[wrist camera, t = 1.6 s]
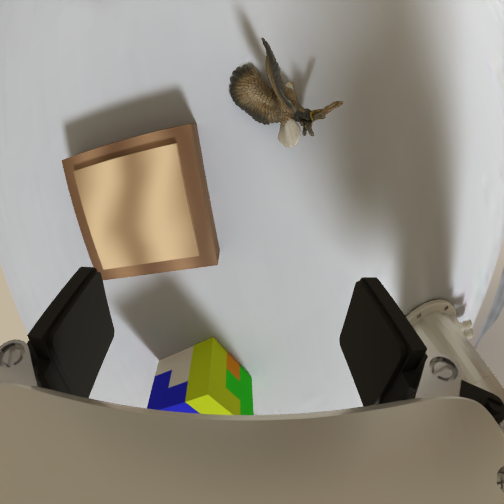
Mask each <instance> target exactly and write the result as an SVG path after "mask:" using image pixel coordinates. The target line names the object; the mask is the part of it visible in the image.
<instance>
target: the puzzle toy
mask: <svg viewBox="0 0 504 504" xmlns="http://www.w3.org/2000/svg"><path fill="white" fill-rule="evenodd" d="M147 409H154V410H163V411H173V412H183V413H197V414H215V415H253V397H252V378H251V376H250V375H249V374H248V373H247V372H246V371H245V370H244V369H243V368H242V367H241V366H240V365H239V364H238V363H237V361H236V360H235V359H234V358H233V357H232V356H231V355H230V354H229V353H228V352H227V351H226V350H225V349H224V348H223V347H222V346H221V345H220V343H219V342H218V341H217V340H216V339H215V338H214V337H211V338H209V339H207V340H205V341H203V342H200V343H198V344H196V345H194V346H191V347H189V348H187V349H185V350H182V351H180V352H178V353H175V354H173V355H171V356H168V357H166V358H164V359H161V360H159V363H158V367H157V371H156V375H155V378H154V382H153V386H152V390H151V394H150V398H149V402H148V406H147Z"/></svg>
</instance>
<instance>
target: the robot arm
mask: <svg viewBox="0 0 504 504" xmlns="http://www.w3.org/2000/svg"><path fill="white" fill-rule="evenodd" d="M471 326H472V322H471V320H466V321H463V322H462V323H461V322H459V321H458V319H457V314H456V310H455V308H454V307H453V306H452V304H451V303H450V302H448V301H446V300H442V299H438V300H432V301H429V302H427V303H424V304H422V305H421V306H419V307H417V308H416V309H415V310H413V311H412V312H411V313H410V314H408V315H407V316H406V317H405V315H404V314H403V312H402V311H401V309H400V308H399V307H398V305H397V304H396V303H395V301H394V300H393V298H392V297H391V296H390V294H389V293H388V292H387V290H386V289H385V288H384V286H383V285H382V284H381V282H380V281H379V280H378V279H377V278H361V280H360V281H358V282H356V284H355V288H354V291H353V295H352V298H351V302H350V305H349V309H348V312H347V315H346V319H345V322H344V325H343V328H342V332H341V335H340V346H341V349H342V351H343V354H344V356H345V359H346V361H347V364H348V366H349V369H350V372H351V374H352V377H353V379H354V382H355V385H356V387H357V390H358V393H359V395H360V398H361V401H362V403H363V406H364V407H357V408H350V409H342V410H334V411H324V412H313V413H300V414H281V415H215V414H197V413H183V412H173V411H163V410H154V409H146V408H139V407H132V406H126V405H120V404H114V403H109V402H104V401H99V400H94V399H89V395H90V392H91V390H92V387H93V385H94V382H95V380H96V377H97V375H98V372H99V370H100V368H101V365H102V363H103V360H104V358H105V356H106V353H107V351H108V349H109V347H110V344H111V342H112V340H113V337H114V327H113V323H112V319H111V315H110V311H109V307H108V303H107V299H106V294H105V290H104V285H103V280H102V276H101V273H100V272H97V269H96V268H93V267H80V268H79V270H78V271H77V272H76V273H75V274H74V275H73V277H72V278H71V279H70V280H69V281H68V283H67V284H66V285H65V286H64V288H63V289H62V290H61V291H60V293H59V294H58V295H57V296H56V298H55V299H54V300H53V301H52V303H51V304H50V305H49V307H48V308H47V309H46V311H45V312H44V313H43V315H42V316H41V317H40V319H39V320H38V321H37V323H36V324H35V326H34V327H33V328H32V330H31V331H30V333H29V334H28V335H27V336H28V338H29V341H28V343H27V344H26V343H25V342H24V341H21V340H11V341H8V342H6V343H4V344H3V345H1V346H0V504H504V388H503V387H502V385H501V384H500V382H499V381H498V379H497V378H496V377H495V375H494V374H493V373H492V371H491V370H490V368H489V367H488V366H487V364H486V363H485V361H484V360H483V359H482V357H481V356H480V355H479V353H478V352H477V351H476V349H475V348H474V347H473V346H472V344H471V343H470V342H469V340H468V339H470V338H472V337H473V330H472V329H471V328H470V327H471Z"/></svg>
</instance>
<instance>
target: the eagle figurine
mask: <svg viewBox="0 0 504 504" xmlns="http://www.w3.org/2000/svg"><path fill="white" fill-rule="evenodd" d="M262 41H263V44H264V46H265V48H266V53H267V56H266V72H267V75H268V78H269V81H270V84H271V86H272V88H273V89H271V88H270V87H269V86H268V85H267V84H266V83H265V82H264V81H263V80H262V79H261V78H260V76H259V74H258V72H257V70H256V68H255V67H254V66H253V65H249V66H246V65H244V66H243V67H242V68H241V67H238V68H237V69H236V71H233V77H231V78H230V81H231V83H232V85H230V89H231V90H230V94H231V97H232V98H233V101H234V102H235V104H236V105H238V106H239V107H240V108H241V109H242V110H245V112H246V113H248V114H249V115H250V116H252V118H253V119H254V120H255V121H258V122H259V123H263V124H264V125H265V124H267V125H269V124H270V123H274V122H276V123H278V122H280V123H281V126H280V131H279V134H278V139H279V141H280V142H281V143H282V144H283V145H284V146H285V147H289V148H292V147H293V146H295V145H296V144H297V142H298V140H299V138H300V133H301V131H300V127H299V125H298V124H297V123H296V122H297V121H298V122H300V123H301V126H303V136H305V135H306V131H307V130H308V132H309V134H310V135H311V136H314V133H313V131H312V128H311V126H312V122H313V121H315V120H317V119H324V118H325V115H326V114H327V113H329V112H330V111H332V110H333V109H334V108H336V107H338V106H340V105H341V104H343V102H342V101H337V102H333V103H332V104H330V105H329V106H326V107H325V108H324V109H318V110H313V111H311V110H309V109H304V108H303V107H301V106H300V105H299V104H298V103H297V97H296V93H295V91H294V88H293V85H292V84H293V83H292V82H288V83H287V84H284V83H283V81H282V80H281V76H280V68H279V66H278V63H277V62H276V59H275V57H274V55H273V52H272V50H271V48H270V46H269V44H268V43H267V41H265V39H264V38H262Z"/></svg>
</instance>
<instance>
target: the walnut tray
mask: <svg viewBox="0 0 504 504" xmlns="http://www.w3.org/2000/svg"><path fill="white" fill-rule="evenodd" d="M62 164H63V168H64V172H65V176H66V181H67V184H68V188H69V192H70V196H71V200H72V203H73V207H74V210H75V213H76V217H77V220H78V223H79V226H80V230H81V233H82V236H83V239H84V242H85V245H86V247H87V250H88V253H89V256H90V259H91V261H92V264H93V267H94V268H96V269H97V272H100V273H101V276H102V280H108V279H116V278H124V277H131V276H139V275H147V274H154V273H162V272H169V271H176V270H184V269H191V268H198V267H206V266H213V265H218V259H219V252H220V249H219V244H218V239H217V234H216V229H215V224H214V219H213V213H212V208H211V203H210V197H209V192H208V187H207V181H206V176H205V170H204V165H203V159H202V153H201V148H200V142H199V136H198V130H197V124H196V123H193V124H187V125H182V126H177V127H173V128H168V129H164V130H160V131H156V132H151V133H148V134H144V135H140V136H136V137H132V138H129V139H125V140H122V141H118V142H115V143H112V144H108V145H105V146H102V147H99V148H96V149H93V150H90V151H87V152H84V153H81V154H78V155H75V156H73V157H70V158H67V159H64V160H62Z"/></svg>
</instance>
